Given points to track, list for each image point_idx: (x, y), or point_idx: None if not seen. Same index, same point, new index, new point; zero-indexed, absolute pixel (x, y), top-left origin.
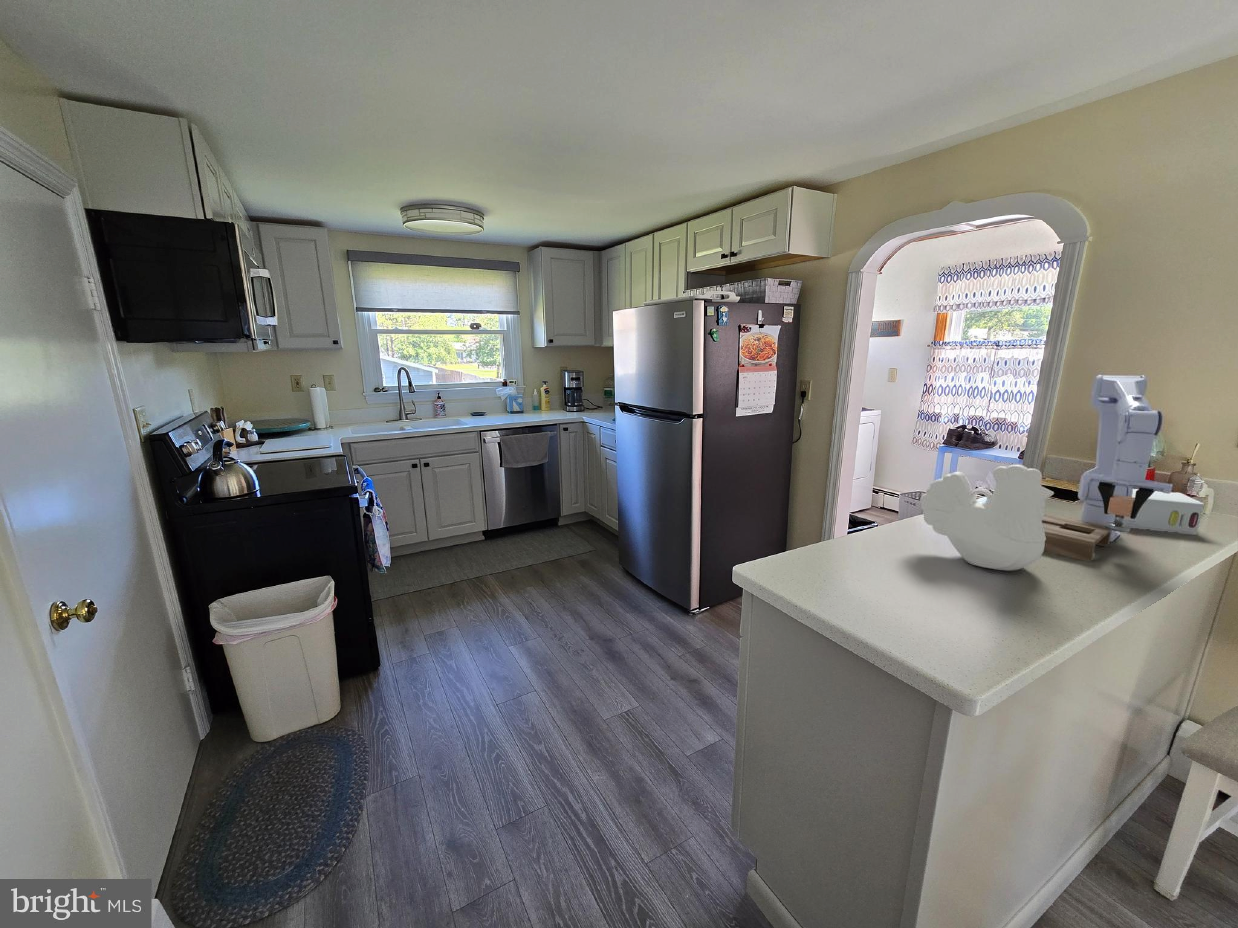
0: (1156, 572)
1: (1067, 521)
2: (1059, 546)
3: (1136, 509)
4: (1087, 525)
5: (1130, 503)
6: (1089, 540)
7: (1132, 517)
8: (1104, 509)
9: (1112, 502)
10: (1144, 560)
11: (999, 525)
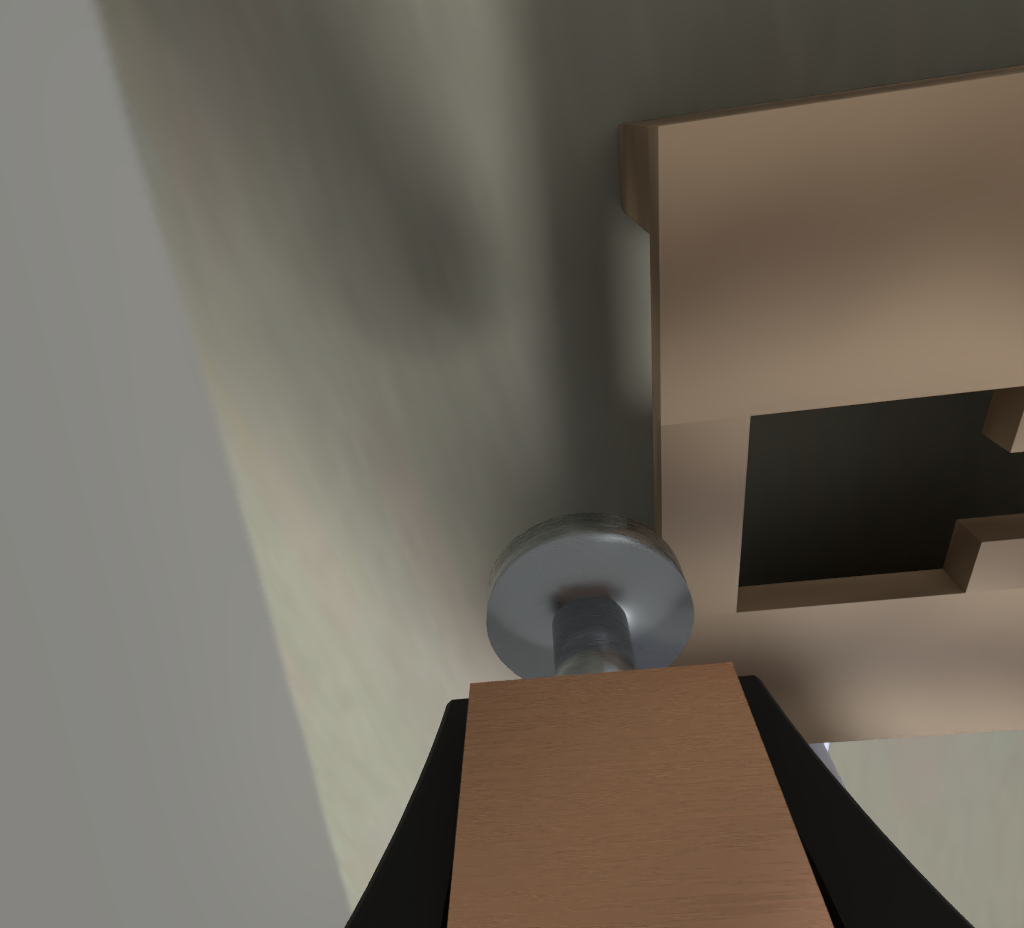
0: (267, 331)
1: (952, 652)
2: (909, 84)
3: (414, 835)
4: (806, 664)
5: (485, 926)
6: (707, 151)
7: (463, 712)
8: (788, 723)
9: (757, 862)
10: (418, 522)
11: None
